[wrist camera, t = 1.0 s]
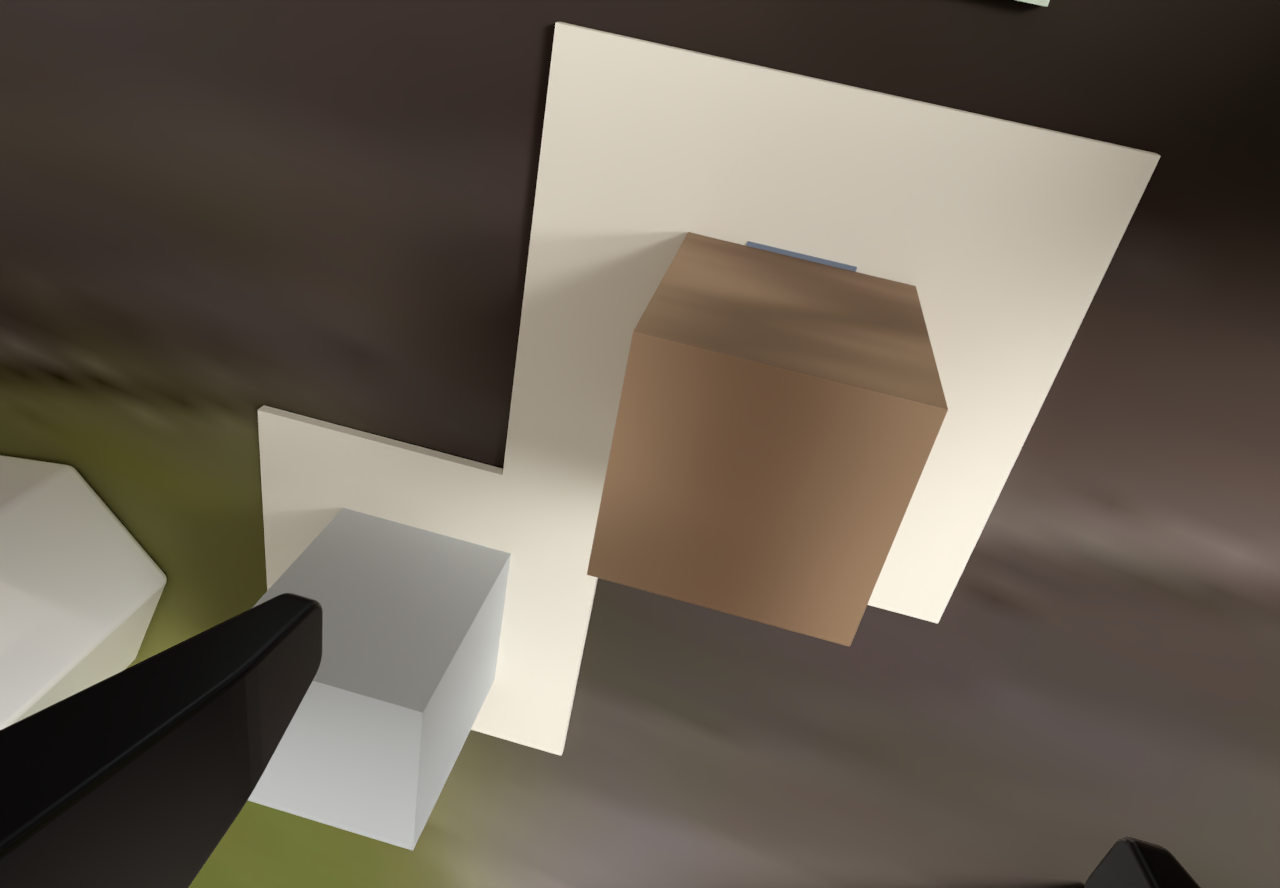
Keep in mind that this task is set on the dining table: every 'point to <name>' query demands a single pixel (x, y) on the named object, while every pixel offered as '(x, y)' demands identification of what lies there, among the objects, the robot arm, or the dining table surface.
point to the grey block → (387, 674)
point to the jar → (65, 588)
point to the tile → (459, 508)
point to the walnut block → (767, 437)
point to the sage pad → (1037, 2)
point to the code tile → (809, 254)
